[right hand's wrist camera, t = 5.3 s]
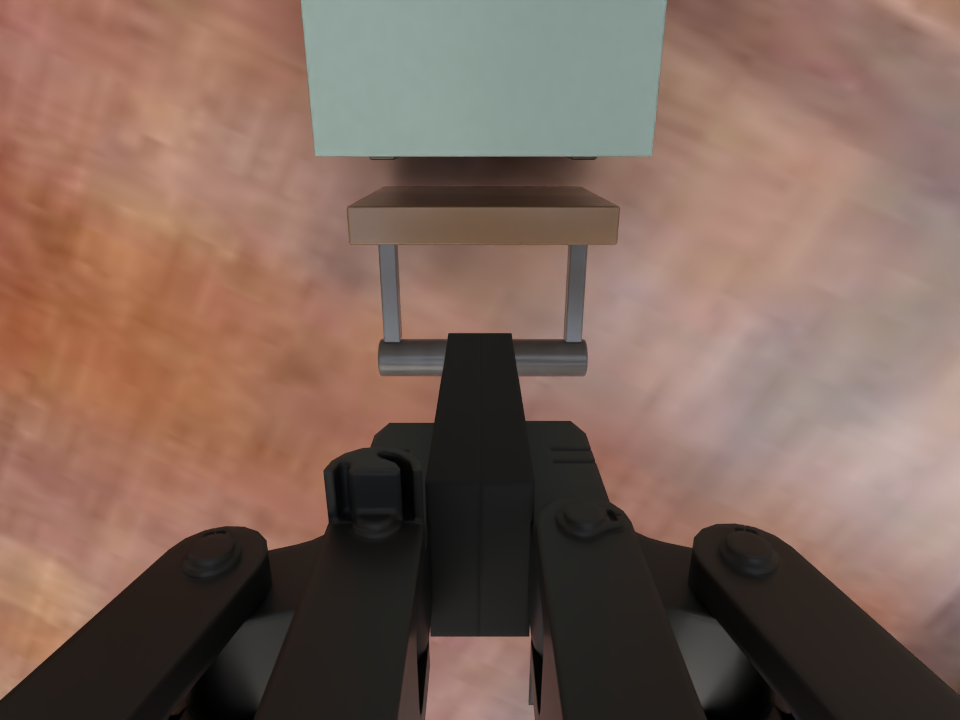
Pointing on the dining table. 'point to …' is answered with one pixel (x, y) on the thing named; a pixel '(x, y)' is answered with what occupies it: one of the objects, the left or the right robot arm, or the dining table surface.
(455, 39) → the green drawer casing
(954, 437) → the dining table surface
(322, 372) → the dining table surface
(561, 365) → the drawer
